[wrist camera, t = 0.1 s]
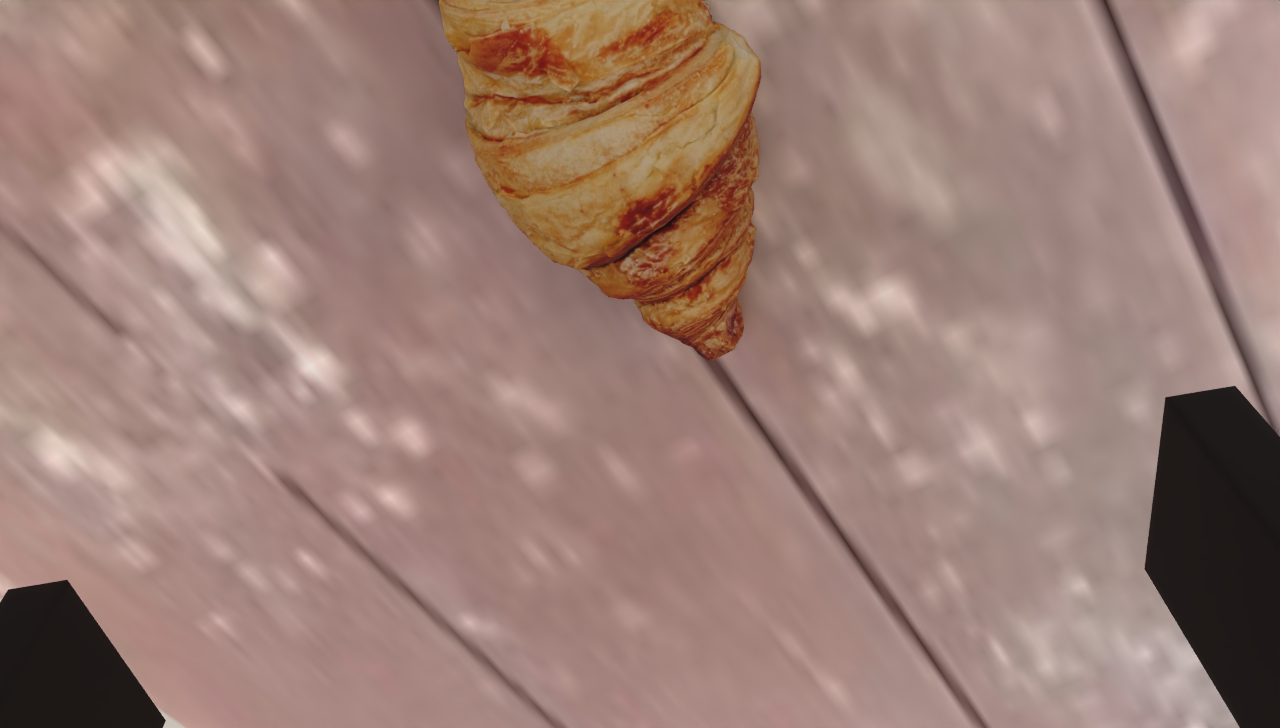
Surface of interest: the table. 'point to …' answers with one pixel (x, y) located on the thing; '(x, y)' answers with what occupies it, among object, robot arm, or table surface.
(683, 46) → the croissant
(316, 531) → the table surface
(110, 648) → the robot arm
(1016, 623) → the table surface
